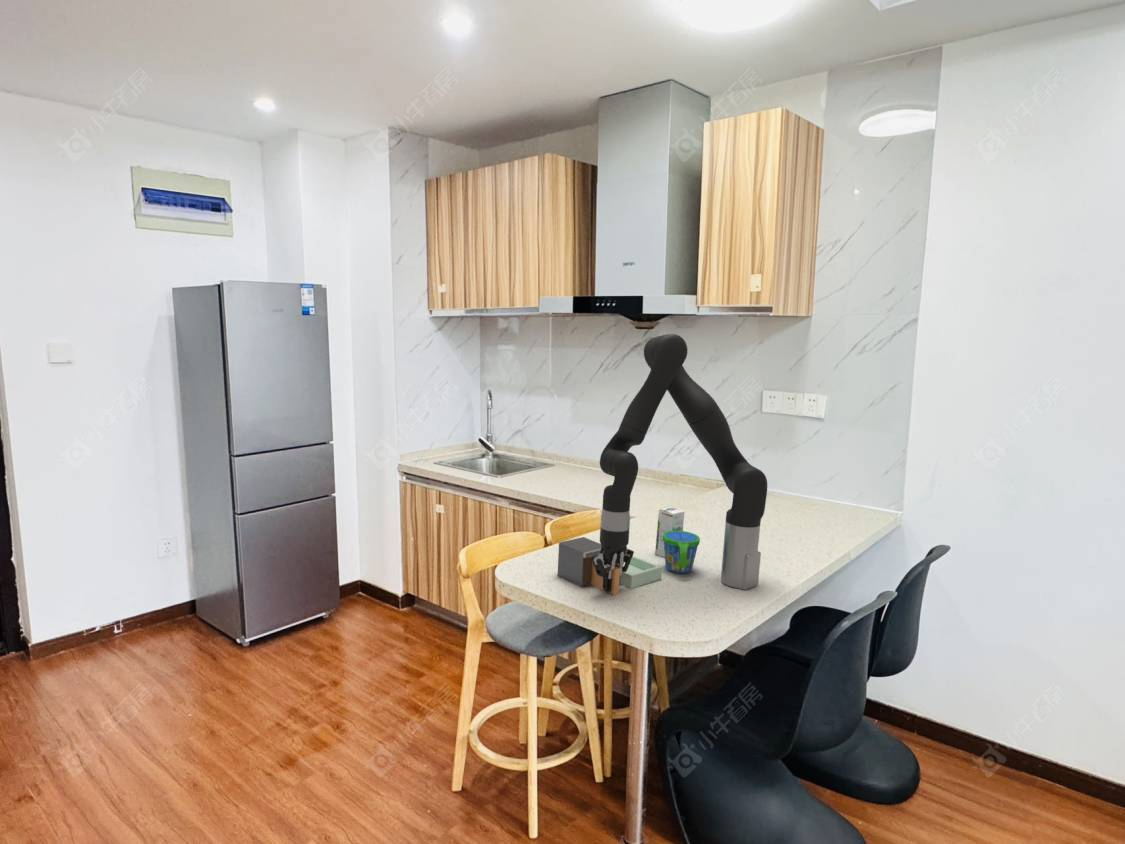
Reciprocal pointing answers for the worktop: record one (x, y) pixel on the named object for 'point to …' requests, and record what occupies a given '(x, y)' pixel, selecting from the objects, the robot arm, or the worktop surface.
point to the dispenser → (577, 560)
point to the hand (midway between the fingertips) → (611, 589)
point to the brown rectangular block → (598, 580)
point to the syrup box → (668, 526)
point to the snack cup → (680, 550)
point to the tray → (640, 573)
